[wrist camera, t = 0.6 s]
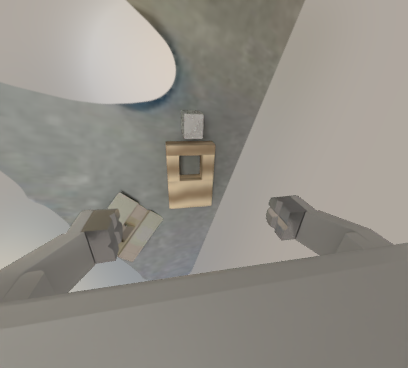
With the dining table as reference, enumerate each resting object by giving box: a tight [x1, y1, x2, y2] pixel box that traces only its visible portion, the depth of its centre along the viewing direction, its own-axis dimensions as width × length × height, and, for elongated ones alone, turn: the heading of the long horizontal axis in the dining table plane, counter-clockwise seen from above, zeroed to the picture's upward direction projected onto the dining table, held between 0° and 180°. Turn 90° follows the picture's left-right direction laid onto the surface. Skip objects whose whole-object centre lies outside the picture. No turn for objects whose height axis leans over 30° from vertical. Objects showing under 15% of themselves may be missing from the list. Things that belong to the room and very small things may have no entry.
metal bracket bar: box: [181, 110, 204, 139], centre depth 41 cm, size 5×4×8 cm
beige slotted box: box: [107, 192, 163, 262], centre depth 52 cm, size 16×9×15 cm
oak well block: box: [166, 141, 215, 209], centre depth 49 cm, size 18×12×4 cm, turn 178°
